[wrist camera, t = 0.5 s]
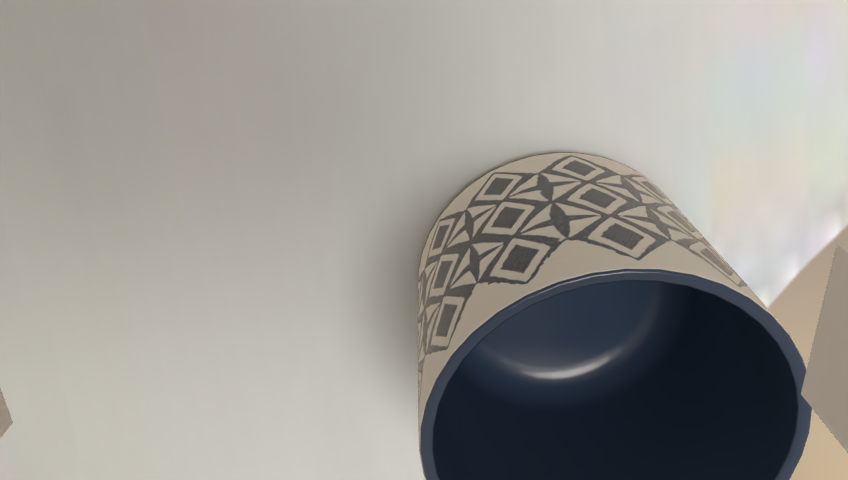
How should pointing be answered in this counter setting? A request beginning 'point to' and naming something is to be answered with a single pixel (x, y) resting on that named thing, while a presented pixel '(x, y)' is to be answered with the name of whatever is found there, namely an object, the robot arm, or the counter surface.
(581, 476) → the planter
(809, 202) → the counter surface
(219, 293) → the counter surface
